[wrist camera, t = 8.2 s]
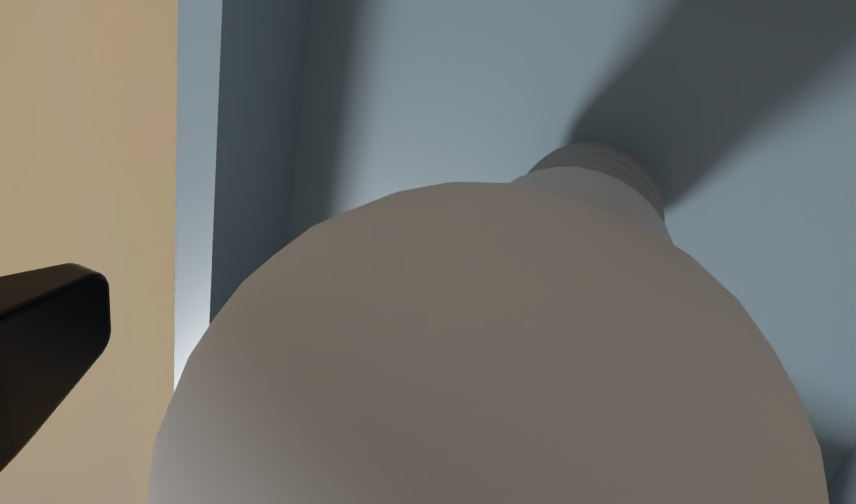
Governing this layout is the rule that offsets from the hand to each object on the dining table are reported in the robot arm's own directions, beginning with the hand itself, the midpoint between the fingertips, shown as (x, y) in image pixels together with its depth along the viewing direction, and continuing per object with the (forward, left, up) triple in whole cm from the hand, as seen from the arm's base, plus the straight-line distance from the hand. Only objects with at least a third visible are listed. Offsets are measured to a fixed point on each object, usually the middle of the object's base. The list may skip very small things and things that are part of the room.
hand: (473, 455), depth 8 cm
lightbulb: (0, 0, -8) cm, 8 cm away
